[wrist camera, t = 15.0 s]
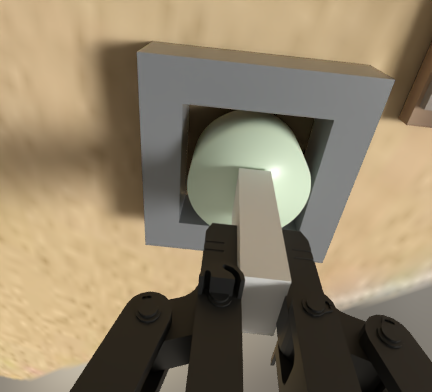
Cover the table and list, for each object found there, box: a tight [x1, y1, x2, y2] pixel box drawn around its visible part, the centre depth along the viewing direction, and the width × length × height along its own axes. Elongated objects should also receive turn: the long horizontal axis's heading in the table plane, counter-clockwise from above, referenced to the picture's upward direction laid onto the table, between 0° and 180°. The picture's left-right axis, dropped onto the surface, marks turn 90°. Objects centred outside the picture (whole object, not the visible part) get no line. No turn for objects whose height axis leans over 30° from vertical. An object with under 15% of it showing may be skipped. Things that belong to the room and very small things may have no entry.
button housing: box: [137, 41, 395, 263], centre depth 17 cm, size 11×11×3 cm
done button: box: [187, 110, 311, 228], centre depth 17 cm, size 6×6×3 cm
